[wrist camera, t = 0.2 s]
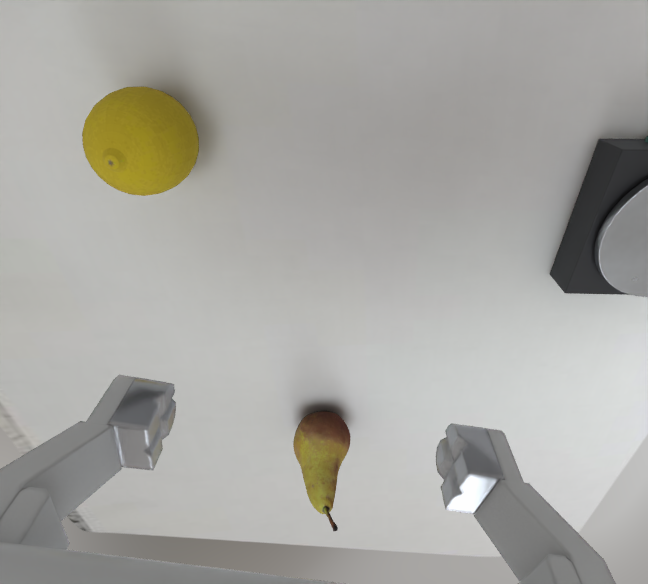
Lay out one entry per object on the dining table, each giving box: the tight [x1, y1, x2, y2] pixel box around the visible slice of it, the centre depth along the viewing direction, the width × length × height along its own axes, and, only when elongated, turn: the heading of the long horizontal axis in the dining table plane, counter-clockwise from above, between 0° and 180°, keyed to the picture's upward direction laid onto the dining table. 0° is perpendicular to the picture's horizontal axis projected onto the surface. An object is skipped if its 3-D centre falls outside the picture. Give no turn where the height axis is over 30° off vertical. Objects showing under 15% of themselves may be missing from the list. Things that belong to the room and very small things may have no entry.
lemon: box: [82, 87, 199, 196], centre depth 22 cm, size 6×6×8 cm
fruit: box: [294, 411, 350, 531], centre depth 36 cm, size 6×6×12 cm
